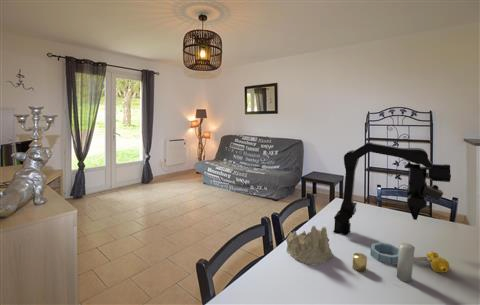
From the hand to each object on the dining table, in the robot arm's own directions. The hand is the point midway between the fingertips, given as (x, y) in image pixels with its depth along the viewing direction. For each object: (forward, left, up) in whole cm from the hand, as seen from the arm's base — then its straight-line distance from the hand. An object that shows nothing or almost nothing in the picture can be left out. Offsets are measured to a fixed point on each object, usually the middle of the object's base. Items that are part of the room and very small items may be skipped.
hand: (414, 215), depth 106 cm
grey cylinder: (-3, -25, -14) cm, 29 cm away
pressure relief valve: (+4, -13, -15) cm, 20 cm away
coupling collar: (-9, -13, -14) cm, 22 cm away
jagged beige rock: (-36, -26, -15) cm, 47 cm away
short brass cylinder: (-17, -27, -15) cm, 35 cm away
